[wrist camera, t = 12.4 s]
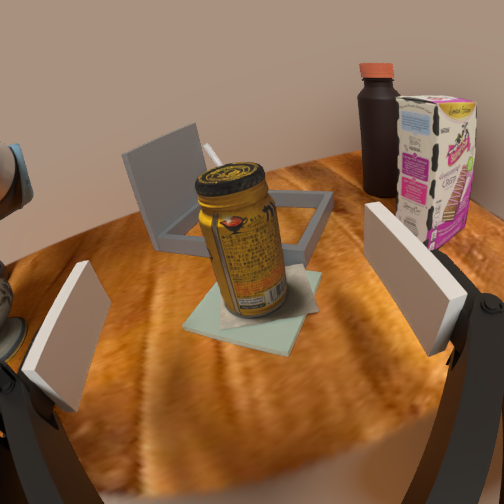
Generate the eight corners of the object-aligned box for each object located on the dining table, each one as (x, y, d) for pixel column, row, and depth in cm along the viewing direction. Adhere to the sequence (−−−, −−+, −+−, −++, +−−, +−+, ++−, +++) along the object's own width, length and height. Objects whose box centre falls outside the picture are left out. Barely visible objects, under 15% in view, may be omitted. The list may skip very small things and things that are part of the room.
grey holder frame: (154, 250, 40) (121, 154, 33) (213, 198, 52) (195, 121, 44) (305, 268, 31) (289, 132, 23) (335, 202, 43) (326, 107, 35)
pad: (184, 329, 26) (182, 325, 26) (233, 265, 34) (232, 261, 33) (288, 356, 22) (287, 352, 22) (322, 277, 29) (321, 272, 29)
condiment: (221, 279, 31) (190, 168, 24) (303, 264, 30) (288, 148, 24) (219, 331, 25) (174, 200, 18) (319, 314, 24) (308, 174, 18)
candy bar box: (426, 264, 27) (437, 101, 19) (391, 245, 31) (391, 95, 23) (467, 227, 31) (478, 100, 22) (438, 214, 35) (442, 93, 26)
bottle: (360, 196, 43) (349, 63, 32) (366, 181, 48) (356, 64, 37) (403, 200, 40) (398, 63, 29) (404, 184, 44) (399, 64, 34)
